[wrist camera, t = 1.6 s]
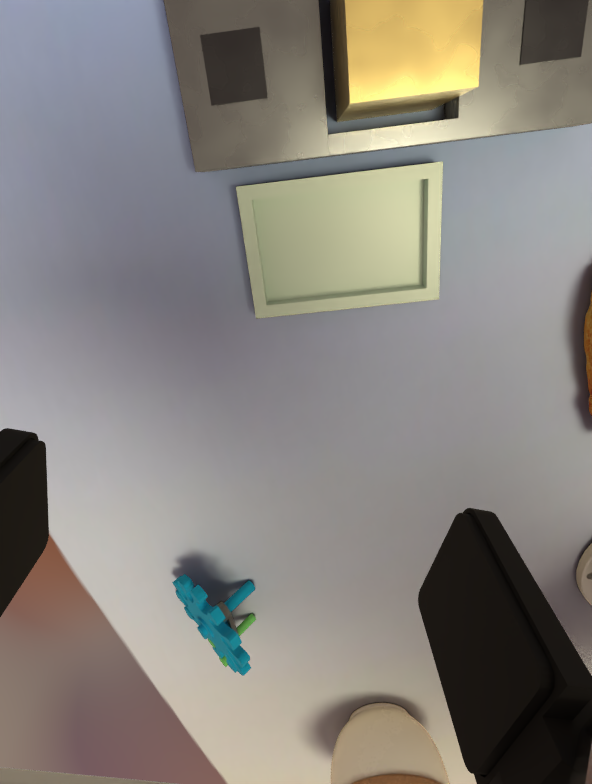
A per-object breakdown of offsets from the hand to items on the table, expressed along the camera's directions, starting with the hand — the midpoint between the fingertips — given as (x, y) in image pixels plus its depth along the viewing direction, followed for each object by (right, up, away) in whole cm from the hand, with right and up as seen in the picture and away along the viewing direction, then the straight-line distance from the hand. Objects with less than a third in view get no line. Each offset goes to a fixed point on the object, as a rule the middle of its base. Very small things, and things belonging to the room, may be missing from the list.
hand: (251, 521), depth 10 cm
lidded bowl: (+11, -35, +42) cm, 56 cm away
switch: (+6, +21, +15) cm, 27 cm away
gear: (-6, -16, +33) cm, 38 cm away
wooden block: (+6, +22, +15) cm, 27 cm away
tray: (+4, +13, +19) cm, 23 cm away
